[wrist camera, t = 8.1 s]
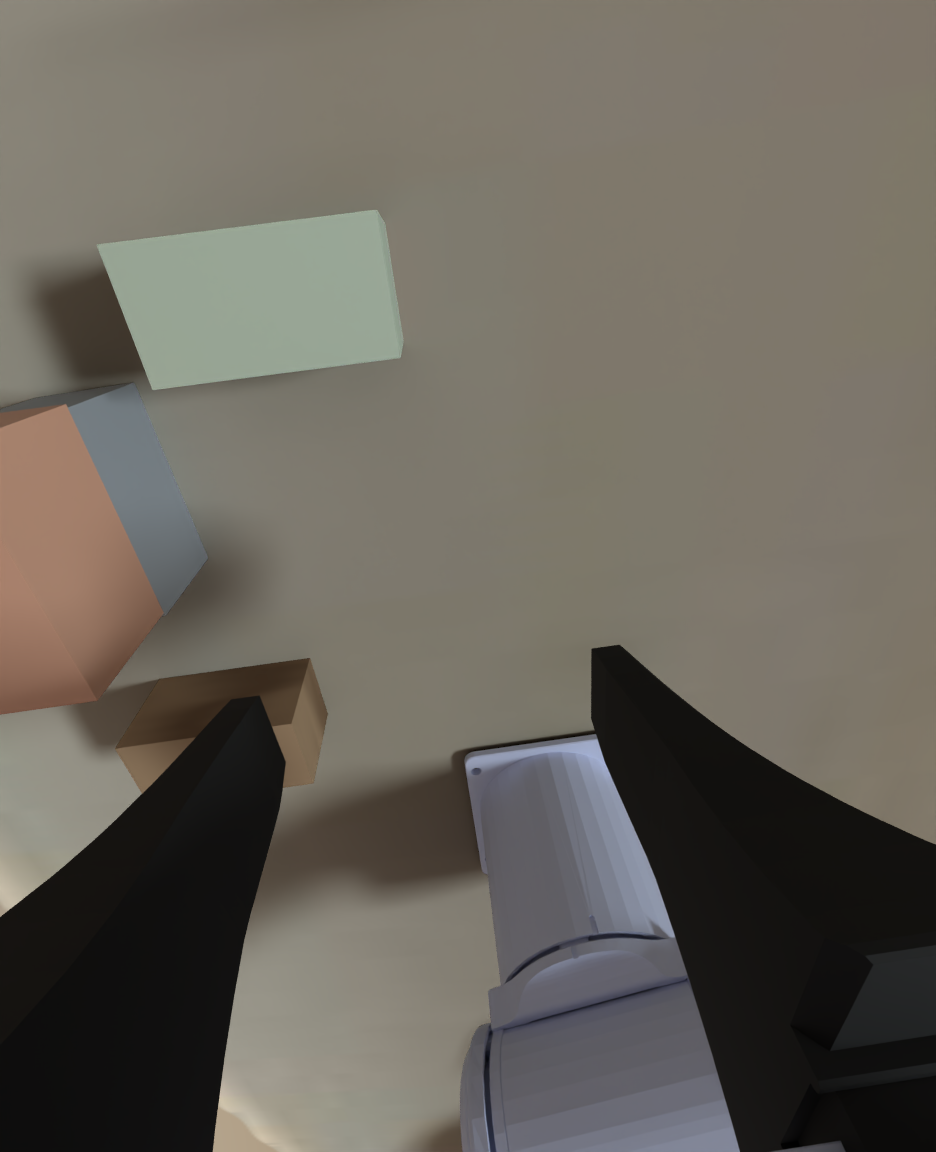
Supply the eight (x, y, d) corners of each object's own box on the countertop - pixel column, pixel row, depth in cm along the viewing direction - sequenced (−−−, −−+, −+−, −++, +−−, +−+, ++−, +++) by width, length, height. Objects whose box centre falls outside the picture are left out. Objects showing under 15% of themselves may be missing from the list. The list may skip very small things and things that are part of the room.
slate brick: (208, 558, 20) (165, 615, 17) (124, 571, 20) (64, 631, 17) (134, 382, 17) (63, 409, 14) (35, 397, 17) (-62, 428, 14)
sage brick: (385, 223, 16) (376, 209, 12) (403, 340, 17) (400, 357, 14) (166, 250, 16) (96, 244, 12) (205, 366, 17) (152, 390, 14)
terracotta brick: (163, 612, 17) (97, 700, 13) (61, 627, 17) (-32, 718, 13) (66, 404, 14) (-54, 447, 10) (-61, 420, 14) (-224, 470, 10)
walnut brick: (310, 656, 23) (291, 723, 20) (327, 711, 25) (313, 783, 21) (160, 677, 23) (114, 748, 20) (187, 731, 25) (150, 806, 21)
